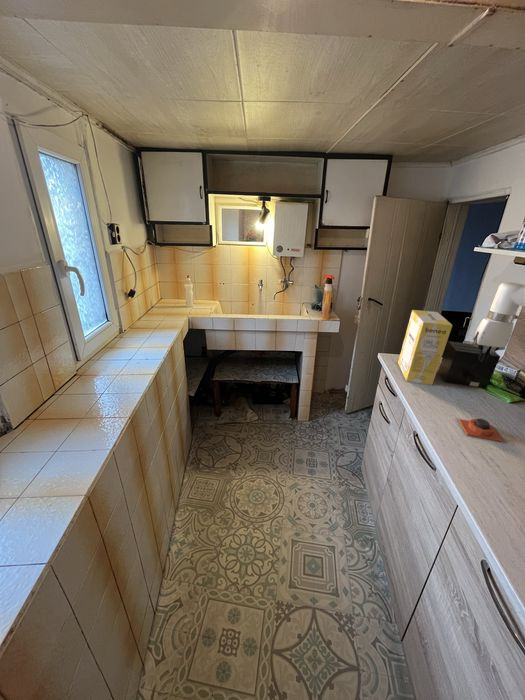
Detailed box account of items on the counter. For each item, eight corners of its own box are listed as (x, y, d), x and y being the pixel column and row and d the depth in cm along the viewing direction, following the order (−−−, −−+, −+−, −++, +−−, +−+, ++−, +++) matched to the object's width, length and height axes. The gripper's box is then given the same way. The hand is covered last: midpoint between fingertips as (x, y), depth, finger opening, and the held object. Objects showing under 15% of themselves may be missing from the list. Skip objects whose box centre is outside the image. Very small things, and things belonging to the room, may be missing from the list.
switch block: (490, 427, 97) (493, 421, 96) (501, 443, 90) (504, 436, 89) (458, 421, 100) (460, 415, 99) (466, 436, 93) (469, 429, 92)
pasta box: (397, 364, 140) (412, 309, 128) (420, 367, 138) (437, 312, 126) (405, 382, 124) (423, 322, 112) (431, 386, 122) (452, 325, 110)
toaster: (476, 377, 130) (489, 346, 123) (486, 390, 120) (500, 356, 113) (437, 371, 134) (448, 340, 127) (444, 383, 124) (456, 350, 117)
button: (485, 424, 95) (487, 419, 94) (489, 430, 92) (491, 426, 91) (473, 421, 96) (475, 417, 95) (477, 428, 93) (479, 424, 92)
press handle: (472, 379, 120) (473, 375, 119) (477, 386, 115) (479, 382, 114) (464, 378, 121) (465, 374, 120) (469, 385, 115) (471, 381, 115)
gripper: (518, 316, 105) (499, 360, 113) (473, 311, 108) (457, 354, 116) (530, 322, 98) (508, 368, 106) (481, 317, 102) (464, 362, 110)
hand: (482, 361), depth 111 cm, fingers closed
